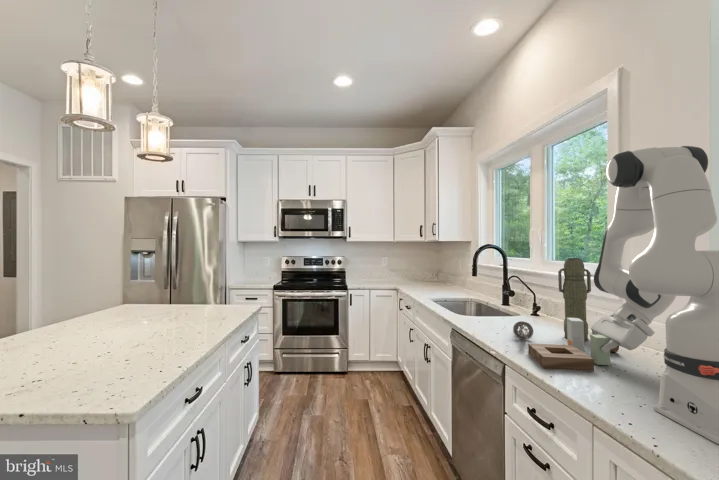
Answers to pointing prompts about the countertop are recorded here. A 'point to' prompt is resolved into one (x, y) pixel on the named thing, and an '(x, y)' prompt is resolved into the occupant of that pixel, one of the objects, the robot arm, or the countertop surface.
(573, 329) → the skincare box
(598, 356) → the green block
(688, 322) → the robot arm
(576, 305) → the thermos
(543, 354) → the walnut holder
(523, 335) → the spaceship
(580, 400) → the countertop surface
